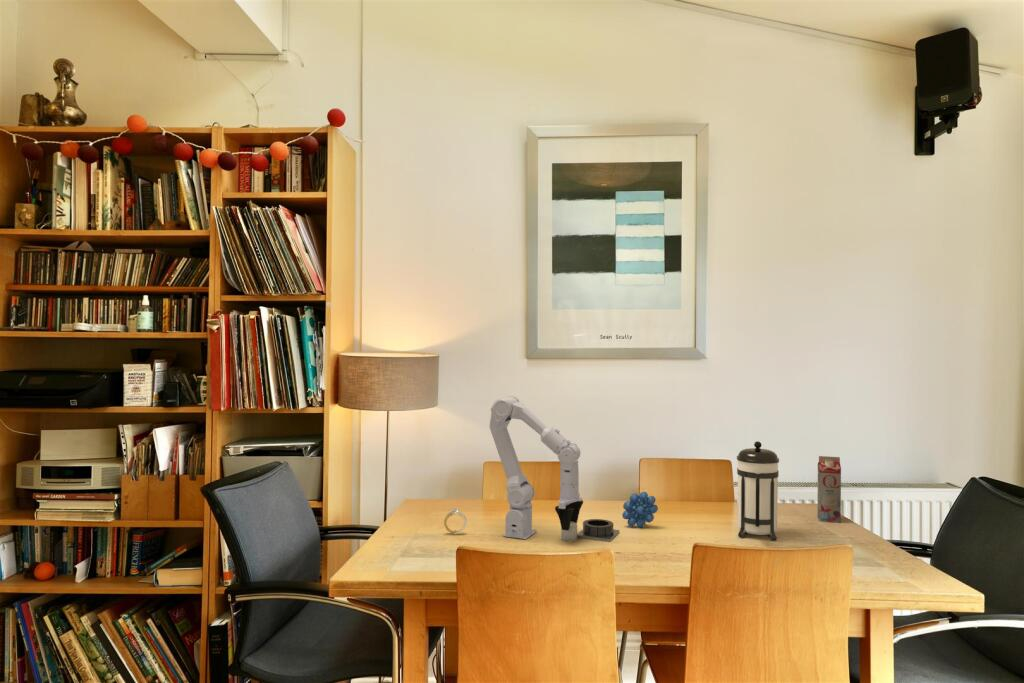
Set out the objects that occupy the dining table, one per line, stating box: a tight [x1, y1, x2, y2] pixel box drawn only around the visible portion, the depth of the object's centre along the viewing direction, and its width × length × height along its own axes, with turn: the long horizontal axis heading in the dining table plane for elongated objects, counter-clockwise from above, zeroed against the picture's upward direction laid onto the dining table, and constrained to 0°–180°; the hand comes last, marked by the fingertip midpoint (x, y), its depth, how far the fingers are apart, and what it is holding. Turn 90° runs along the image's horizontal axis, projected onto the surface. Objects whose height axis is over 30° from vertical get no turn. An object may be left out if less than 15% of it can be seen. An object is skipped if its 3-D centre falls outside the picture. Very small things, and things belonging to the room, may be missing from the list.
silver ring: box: [443, 508, 467, 535], centre depth 217 cm, size 7×3×8 cm, turn 84°
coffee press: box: [736, 440, 780, 542], centre depth 216 cm, size 17×16×30 cm
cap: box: [560, 521, 578, 542], centre depth 212 cm, size 5×5×5 cm
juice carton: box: [816, 455, 842, 524], centre depth 236 cm, size 7×7×22 cm
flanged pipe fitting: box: [577, 518, 620, 543], centre depth 217 cm, size 11×11×4 cm
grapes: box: [621, 491, 659, 528], centre depth 227 cm, size 12×7×12 cm, turn 81°
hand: (569, 526), depth 212 cm, fingers open, 7 cm apart
